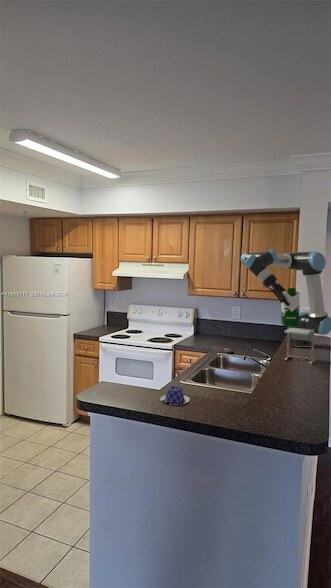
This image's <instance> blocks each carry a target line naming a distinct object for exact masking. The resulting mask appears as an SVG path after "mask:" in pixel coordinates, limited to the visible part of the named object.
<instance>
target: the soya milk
mask: <svg viewBox="0 0 331 588" xmlns="http://www.w3.org/2000/svg"><path fill="white" fill-rule="evenodd" d="M282 294H283V295H284V297H285V298H286V299H288V300H289V301H290V303H291V304H292V305H293V306H294V307H295V308H296V309H295V310H293V311H292V312H291V311H290V309H289V308H288V307H287V306H286V305H285V304H284V303H281V302H280V304H281V306H280V308H281V309H280V318H281V319H280V320H281V321H280V322H281V325H283V326H284V327H292V326H298V321H299V313H300V307H299V305H300V297H301V296H300V294H301V292H299V291H297V289H296V287H287V290H286V291H282Z"/></svg>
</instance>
